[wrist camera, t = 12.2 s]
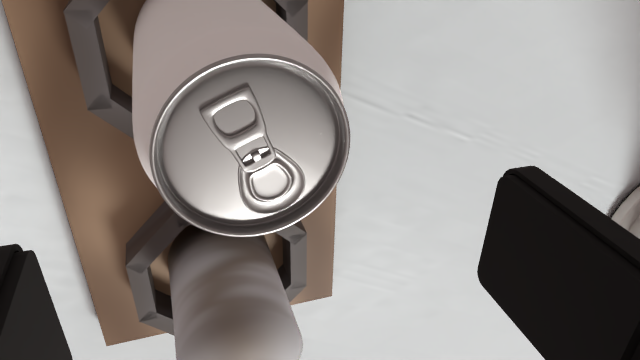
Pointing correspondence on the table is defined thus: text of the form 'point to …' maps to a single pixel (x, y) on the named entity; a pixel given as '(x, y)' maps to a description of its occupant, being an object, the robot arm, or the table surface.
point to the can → (234, 115)
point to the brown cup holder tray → (147, 203)
